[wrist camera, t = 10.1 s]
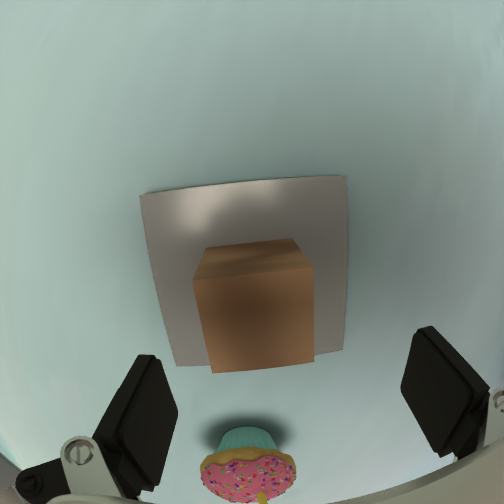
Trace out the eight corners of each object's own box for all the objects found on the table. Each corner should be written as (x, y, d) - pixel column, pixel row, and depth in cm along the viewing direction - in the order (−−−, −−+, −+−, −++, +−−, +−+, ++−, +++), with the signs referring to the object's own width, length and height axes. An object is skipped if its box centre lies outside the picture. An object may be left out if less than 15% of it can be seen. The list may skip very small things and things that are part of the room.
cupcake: (255, 402, 21) (265, 528, 10) (306, 439, 24) (328, 537, 12) (185, 434, 23) (171, 538, 11) (241, 466, 25) (243, 554, 13)
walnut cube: (292, 238, 16) (313, 266, 11) (296, 314, 18) (314, 361, 13) (205, 247, 16) (191, 280, 11) (218, 322, 18) (212, 373, 13)
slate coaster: (339, 175, 16) (345, 175, 15) (337, 340, 20) (342, 349, 19) (145, 193, 16) (139, 195, 15) (179, 356, 20) (176, 366, 19)
